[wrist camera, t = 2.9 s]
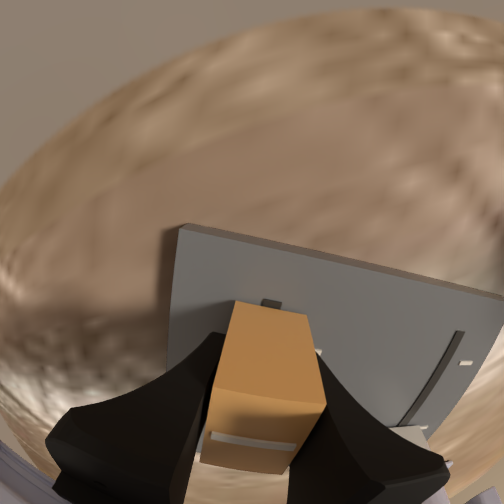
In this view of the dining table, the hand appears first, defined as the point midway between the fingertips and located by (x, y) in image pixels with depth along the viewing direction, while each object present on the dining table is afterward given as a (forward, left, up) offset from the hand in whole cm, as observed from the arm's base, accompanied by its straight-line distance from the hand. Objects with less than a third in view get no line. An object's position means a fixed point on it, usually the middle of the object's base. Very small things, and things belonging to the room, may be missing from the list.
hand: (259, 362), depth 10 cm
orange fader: (0, 0, -1) cm, 1 cm away
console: (-3, -5, -2) cm, 6 cm away
